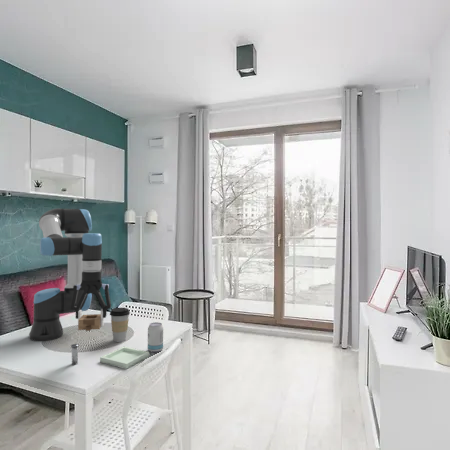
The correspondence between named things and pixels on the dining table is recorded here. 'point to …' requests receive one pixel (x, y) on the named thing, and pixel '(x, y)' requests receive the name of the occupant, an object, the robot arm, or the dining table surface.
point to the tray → (124, 357)
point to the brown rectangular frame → (89, 322)
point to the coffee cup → (119, 323)
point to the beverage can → (155, 337)
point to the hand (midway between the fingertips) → (91, 325)
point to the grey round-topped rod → (74, 354)
